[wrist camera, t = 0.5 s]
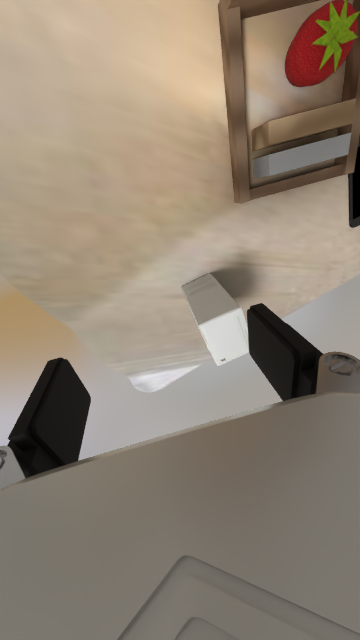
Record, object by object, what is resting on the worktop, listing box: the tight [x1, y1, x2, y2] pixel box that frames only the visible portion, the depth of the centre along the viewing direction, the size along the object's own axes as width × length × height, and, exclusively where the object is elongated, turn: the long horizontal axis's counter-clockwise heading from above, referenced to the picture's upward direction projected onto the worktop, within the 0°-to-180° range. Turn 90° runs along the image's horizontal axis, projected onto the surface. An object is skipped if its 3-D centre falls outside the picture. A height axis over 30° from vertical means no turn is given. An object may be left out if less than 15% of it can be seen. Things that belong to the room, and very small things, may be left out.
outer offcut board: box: [253, 133, 351, 178], centre depth 33 cm, size 2×12×5 cm, turn 103°
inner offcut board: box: [252, 98, 356, 151], centre depth 31 cm, size 2×12×5 cm, turn 103°
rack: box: [218, 0, 360, 203], centre depth 29 cm, size 21×19×6 cm
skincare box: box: [182, 273, 249, 366], centre depth 37 cm, size 8×7×16 cm
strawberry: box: [285, 0, 360, 87], centre depth 25 cm, size 6×8×10 cm
